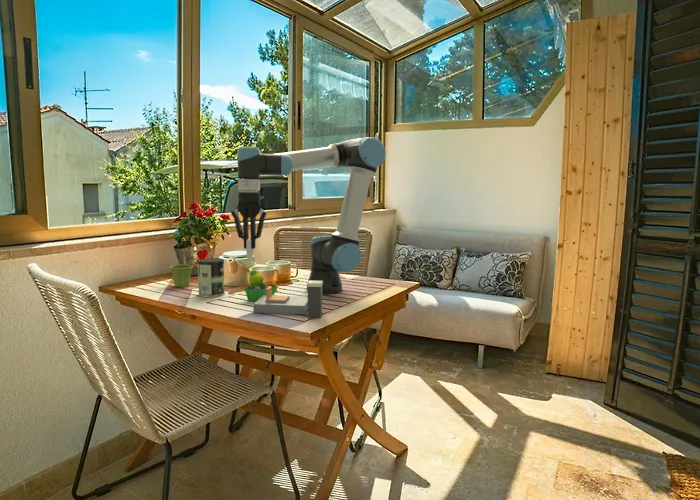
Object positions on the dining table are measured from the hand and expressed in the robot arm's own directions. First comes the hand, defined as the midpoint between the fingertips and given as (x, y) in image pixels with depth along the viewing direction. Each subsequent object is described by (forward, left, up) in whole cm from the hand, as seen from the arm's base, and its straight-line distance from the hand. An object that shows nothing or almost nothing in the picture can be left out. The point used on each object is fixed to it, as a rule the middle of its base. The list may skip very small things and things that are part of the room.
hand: (249, 257), depth 179 cm
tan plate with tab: (0, +10, -15) cm, 18 cm away
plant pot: (-32, -39, -19) cm, 54 cm away
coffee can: (-18, -21, -19) cm, 33 cm away
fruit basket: (-13, 0, -19) cm, 23 cm away
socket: (0, +12, -18) cm, 22 cm away
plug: (+9, +25, -18) cm, 32 cm away
